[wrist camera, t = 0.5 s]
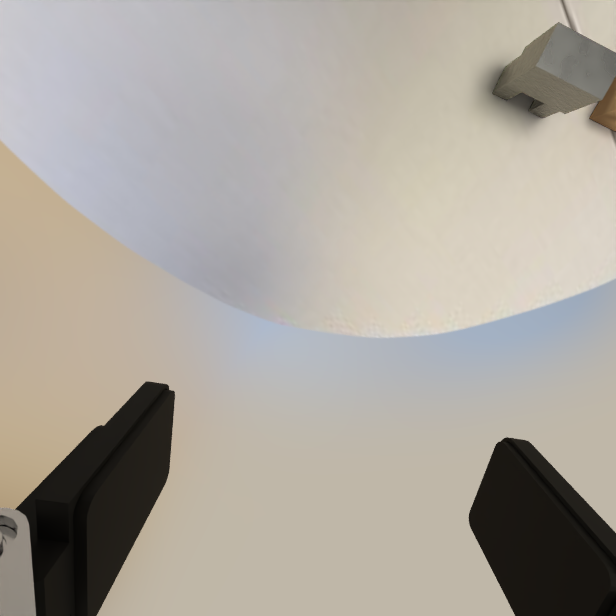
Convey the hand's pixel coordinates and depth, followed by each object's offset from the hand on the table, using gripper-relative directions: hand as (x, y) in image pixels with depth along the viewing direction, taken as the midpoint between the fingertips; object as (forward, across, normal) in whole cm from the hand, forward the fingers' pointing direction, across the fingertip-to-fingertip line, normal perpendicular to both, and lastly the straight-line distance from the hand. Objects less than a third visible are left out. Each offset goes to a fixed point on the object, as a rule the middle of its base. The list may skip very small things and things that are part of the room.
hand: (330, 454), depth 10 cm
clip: (+29, -17, -20) cm, 39 cm away
